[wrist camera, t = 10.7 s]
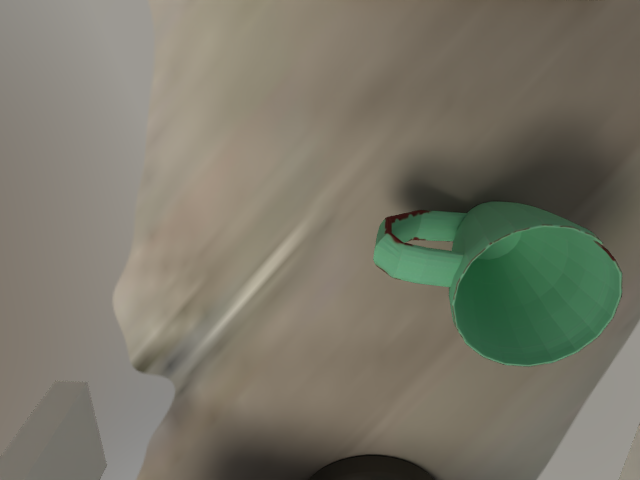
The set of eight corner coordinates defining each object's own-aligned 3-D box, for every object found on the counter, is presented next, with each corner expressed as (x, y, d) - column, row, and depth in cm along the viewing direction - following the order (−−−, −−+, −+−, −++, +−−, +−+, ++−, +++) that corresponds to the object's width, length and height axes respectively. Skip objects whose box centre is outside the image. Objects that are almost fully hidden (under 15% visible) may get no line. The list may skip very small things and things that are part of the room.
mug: (577, 186, 37) (655, 246, 28) (524, 297, 41) (577, 380, 32) (384, 140, 36) (401, 187, 27) (349, 259, 40) (354, 334, 31)
